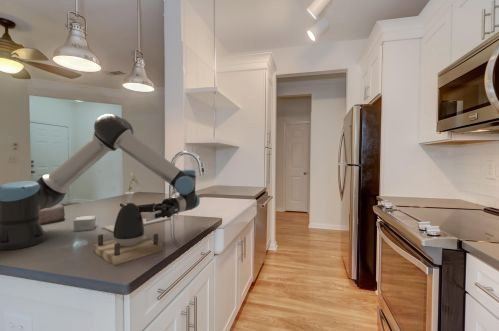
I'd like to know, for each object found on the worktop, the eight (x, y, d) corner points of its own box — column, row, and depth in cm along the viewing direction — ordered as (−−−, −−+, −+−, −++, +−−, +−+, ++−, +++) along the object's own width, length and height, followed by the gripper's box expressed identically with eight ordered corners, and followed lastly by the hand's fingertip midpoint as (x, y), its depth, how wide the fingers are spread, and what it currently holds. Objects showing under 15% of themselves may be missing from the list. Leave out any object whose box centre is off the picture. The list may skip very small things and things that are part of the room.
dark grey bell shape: (132, 237, 97) (133, 199, 96) (150, 243, 92) (150, 202, 91) (106, 245, 88) (106, 203, 88) (124, 251, 83) (124, 206, 82)
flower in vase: (137, 219, 135) (138, 173, 134) (115, 219, 133) (115, 173, 132) (143, 213, 147) (143, 172, 147) (122, 214, 145) (123, 172, 145)
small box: (93, 229, 115) (93, 218, 115) (73, 231, 111) (73, 220, 111) (95, 225, 122) (95, 215, 122) (76, 227, 118) (76, 216, 118)
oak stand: (93, 251, 89) (93, 235, 88) (139, 240, 102) (139, 225, 102) (113, 265, 78) (113, 246, 78) (162, 250, 91) (162, 234, 91)
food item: (34, 226, 117) (34, 206, 117) (26, 224, 121) (26, 204, 120) (66, 220, 129) (66, 201, 129) (58, 218, 133) (58, 200, 133)
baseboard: (100, 229, 118) (112, 234, 111) (100, 222, 118) (112, 227, 111) (157, 217, 143) (170, 220, 136) (157, 212, 143) (170, 215, 136)
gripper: (196, 217, 105) (158, 230, 86) (152, 211, 115) (110, 221, 96) (196, 199, 105) (159, 208, 85) (152, 195, 115) (110, 202, 96)
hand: (133, 215), depth 91 cm, fingers open, 13 cm apart
